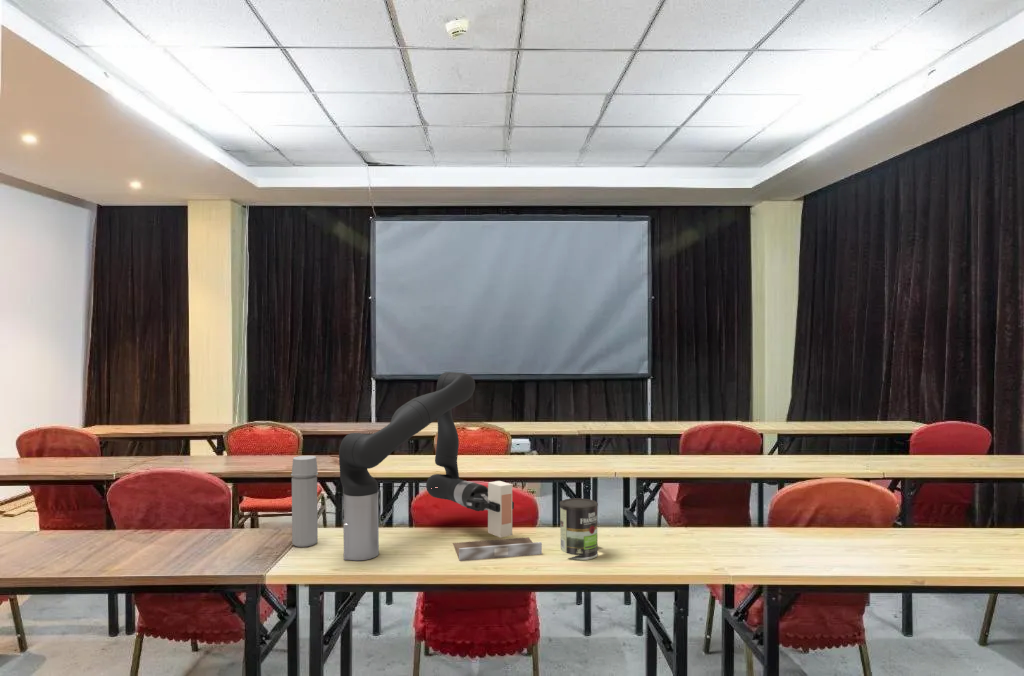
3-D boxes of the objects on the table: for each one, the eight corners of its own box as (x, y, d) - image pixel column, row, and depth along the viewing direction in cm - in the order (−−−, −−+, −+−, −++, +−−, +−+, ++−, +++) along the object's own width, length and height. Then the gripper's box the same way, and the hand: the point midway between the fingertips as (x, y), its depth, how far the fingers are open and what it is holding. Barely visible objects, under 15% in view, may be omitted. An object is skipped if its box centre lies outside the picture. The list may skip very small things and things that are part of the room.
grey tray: (459, 567, 169) (459, 549, 169) (452, 548, 184) (452, 532, 184) (542, 560, 173) (541, 543, 173) (528, 542, 188) (528, 526, 188)
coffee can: (606, 554, 177) (605, 502, 177) (579, 563, 170) (578, 509, 170) (578, 545, 185) (578, 496, 185) (552, 553, 178) (551, 502, 178)
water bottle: (314, 548, 185) (313, 460, 185) (287, 548, 185) (286, 460, 185) (324, 538, 194) (323, 454, 194) (298, 538, 194) (297, 454, 194)
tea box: (500, 537, 178) (500, 486, 178) (487, 532, 183) (488, 482, 183) (512, 535, 180) (512, 484, 180) (499, 530, 185) (499, 480, 185)
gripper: (451, 485, 189) (484, 496, 175) (491, 479, 197) (526, 489, 184) (451, 511, 189) (484, 525, 175) (491, 504, 197) (526, 516, 184)
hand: (505, 506), depth 179 cm, fingers closed on tea box, 4 cm apart
